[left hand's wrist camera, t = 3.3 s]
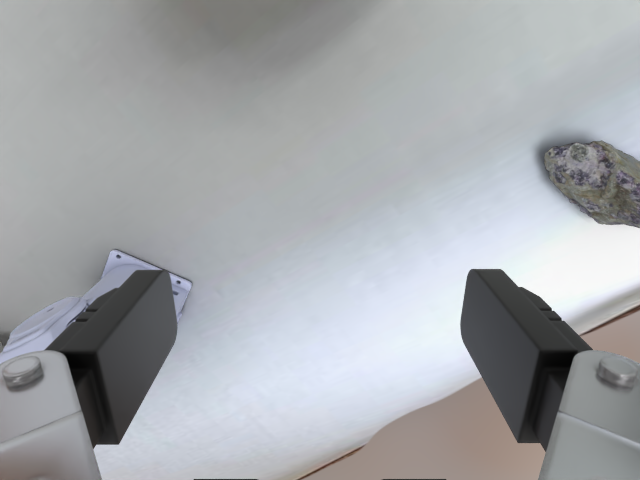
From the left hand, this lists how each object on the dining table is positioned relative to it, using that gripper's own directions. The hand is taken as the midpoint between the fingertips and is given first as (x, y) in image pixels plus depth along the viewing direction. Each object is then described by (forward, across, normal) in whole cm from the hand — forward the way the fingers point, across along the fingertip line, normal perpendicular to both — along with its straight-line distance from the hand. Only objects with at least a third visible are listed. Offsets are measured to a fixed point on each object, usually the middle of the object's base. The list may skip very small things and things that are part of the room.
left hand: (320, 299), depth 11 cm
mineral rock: (+32, +29, -4) cm, 44 cm away
